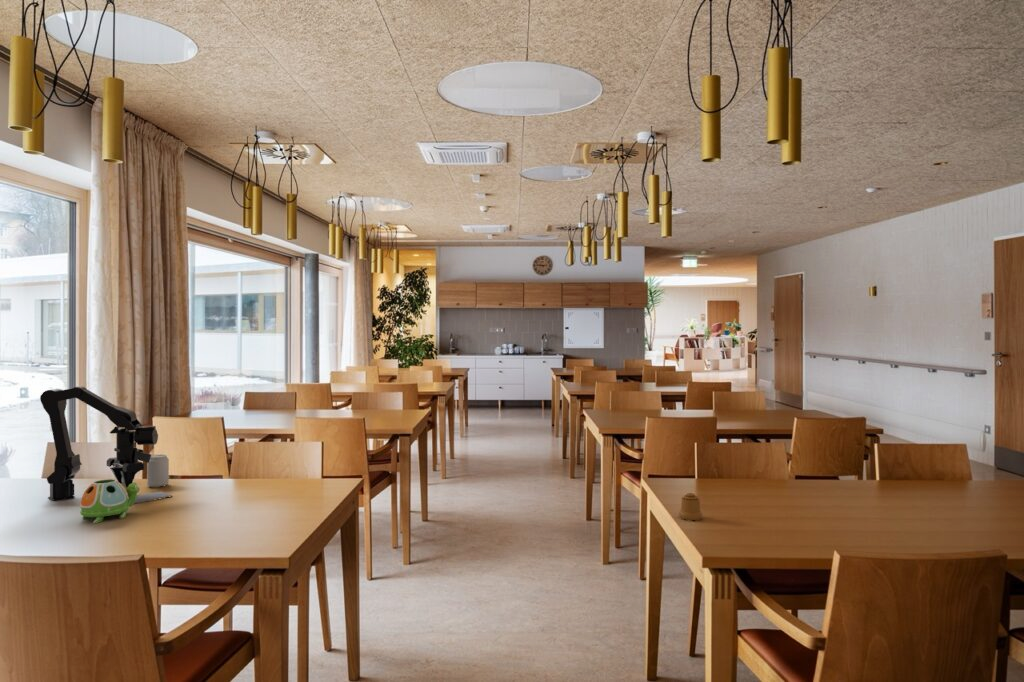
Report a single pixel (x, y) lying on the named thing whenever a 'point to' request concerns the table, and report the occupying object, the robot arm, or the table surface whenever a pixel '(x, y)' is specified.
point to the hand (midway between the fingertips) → (125, 487)
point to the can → (158, 471)
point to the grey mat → (150, 496)
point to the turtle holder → (107, 499)
